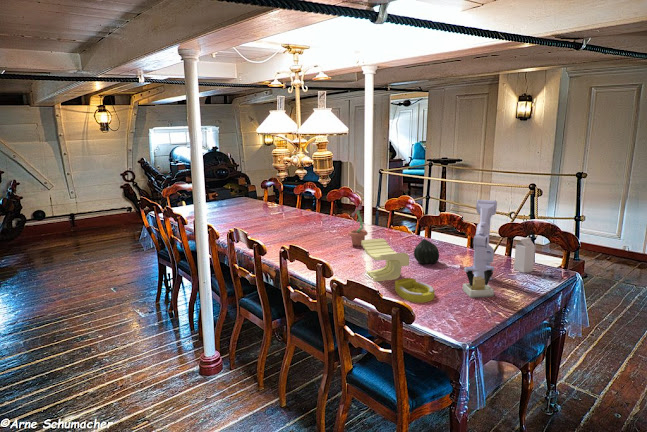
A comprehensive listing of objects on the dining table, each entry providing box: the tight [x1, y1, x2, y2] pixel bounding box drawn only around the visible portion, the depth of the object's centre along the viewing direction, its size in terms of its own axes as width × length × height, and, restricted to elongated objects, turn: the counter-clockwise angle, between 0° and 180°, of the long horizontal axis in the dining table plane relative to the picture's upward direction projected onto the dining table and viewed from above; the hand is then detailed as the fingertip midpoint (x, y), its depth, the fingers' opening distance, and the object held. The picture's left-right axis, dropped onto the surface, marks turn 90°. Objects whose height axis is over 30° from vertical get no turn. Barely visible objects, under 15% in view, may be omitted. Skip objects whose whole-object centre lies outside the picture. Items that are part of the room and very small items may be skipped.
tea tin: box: [472, 276, 485, 290], centre depth 207 cm, size 4×4×7 cm
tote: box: [462, 282, 495, 298], centre depth 207 cm, size 10×12×4 cm
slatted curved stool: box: [361, 238, 410, 282], centre depth 232 cm, size 30×16×18 cm, turn 15°
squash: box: [413, 238, 440, 265], centre depth 255 cm, size 14×15×15 cm
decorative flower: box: [347, 203, 369, 247], centre depth 295 cm, size 15×14×30 cm
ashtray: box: [394, 277, 435, 303], centre depth 208 cm, size 16×21×5 cm
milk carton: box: [513, 237, 536, 274], centre depth 236 cm, size 7×7×19 cm
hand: (478, 284), depth 206 cm, fingers open, 7 cm apart
